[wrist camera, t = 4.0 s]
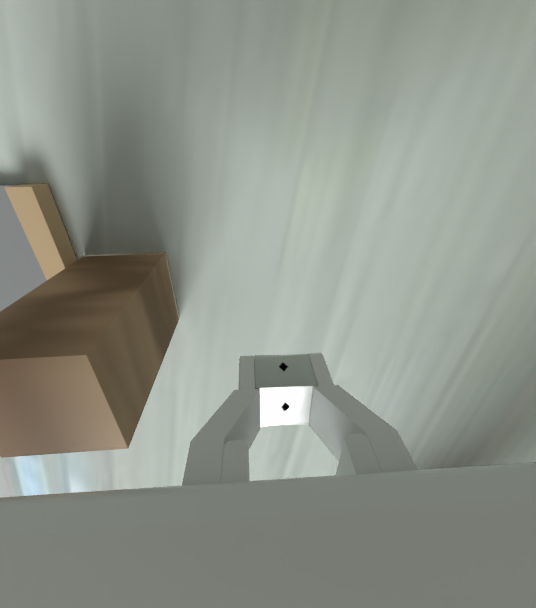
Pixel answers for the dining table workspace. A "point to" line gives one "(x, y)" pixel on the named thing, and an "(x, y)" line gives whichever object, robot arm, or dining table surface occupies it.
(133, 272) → the walnut block
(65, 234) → the mat
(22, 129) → the dining table surface
